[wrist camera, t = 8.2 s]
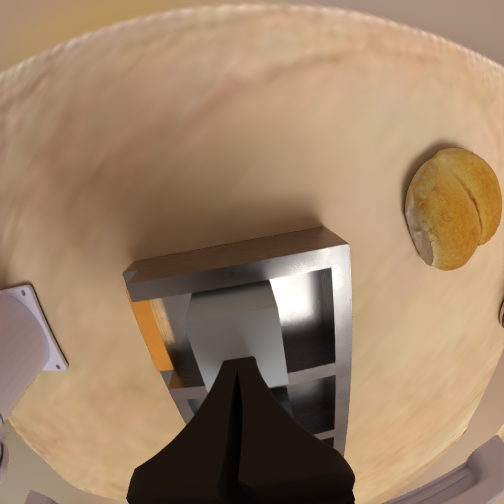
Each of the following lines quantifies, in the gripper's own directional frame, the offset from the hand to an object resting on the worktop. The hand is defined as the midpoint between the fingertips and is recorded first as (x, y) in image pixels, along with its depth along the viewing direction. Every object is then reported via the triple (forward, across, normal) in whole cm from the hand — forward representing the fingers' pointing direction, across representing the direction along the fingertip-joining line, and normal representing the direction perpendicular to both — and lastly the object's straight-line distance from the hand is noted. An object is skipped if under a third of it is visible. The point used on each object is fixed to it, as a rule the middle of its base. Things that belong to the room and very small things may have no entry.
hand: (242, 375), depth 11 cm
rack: (+7, 0, +7) cm, 10 cm away
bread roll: (+7, -16, -4) cm, 18 cm away
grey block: (+6, 0, 0) cm, 6 cm away
